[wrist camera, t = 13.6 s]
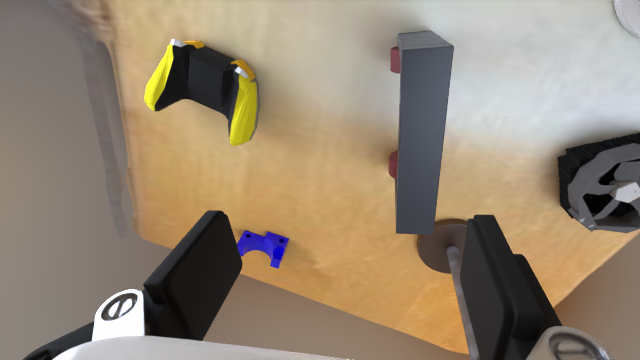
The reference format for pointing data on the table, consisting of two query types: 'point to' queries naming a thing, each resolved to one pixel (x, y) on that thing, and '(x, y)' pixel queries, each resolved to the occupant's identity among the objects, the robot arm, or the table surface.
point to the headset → (419, 127)
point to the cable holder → (264, 246)
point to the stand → (449, 265)
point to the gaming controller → (207, 85)
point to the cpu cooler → (603, 184)
